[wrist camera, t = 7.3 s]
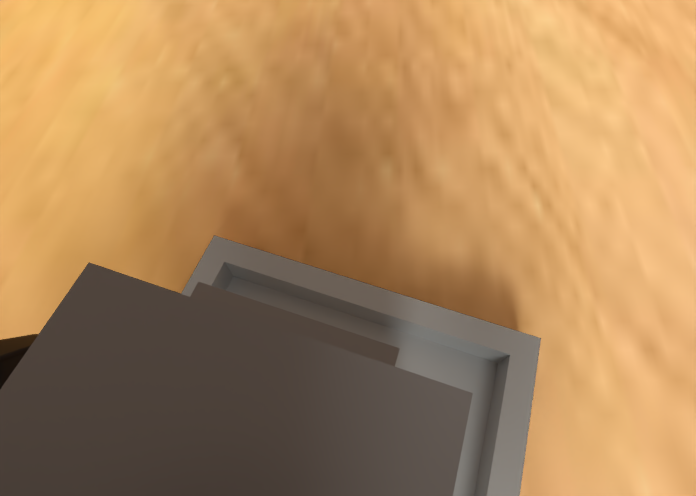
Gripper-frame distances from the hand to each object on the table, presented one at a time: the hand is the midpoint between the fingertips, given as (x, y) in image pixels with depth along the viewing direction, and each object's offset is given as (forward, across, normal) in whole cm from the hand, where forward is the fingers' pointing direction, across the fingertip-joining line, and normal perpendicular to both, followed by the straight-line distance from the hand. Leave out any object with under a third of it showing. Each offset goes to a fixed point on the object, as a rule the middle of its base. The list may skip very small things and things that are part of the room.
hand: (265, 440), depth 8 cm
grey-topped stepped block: (+5, 0, +7) cm, 9 cm away
